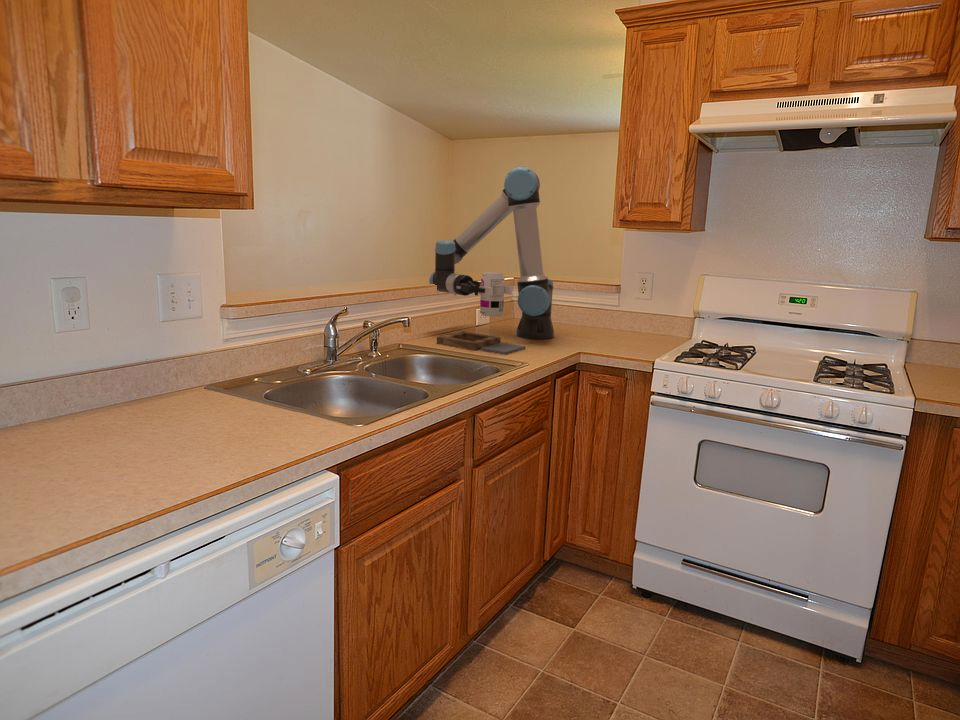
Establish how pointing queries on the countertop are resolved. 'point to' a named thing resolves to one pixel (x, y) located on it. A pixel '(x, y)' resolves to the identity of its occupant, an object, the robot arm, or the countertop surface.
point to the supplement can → (495, 302)
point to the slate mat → (503, 348)
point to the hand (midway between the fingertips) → (501, 291)
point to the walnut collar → (463, 340)
